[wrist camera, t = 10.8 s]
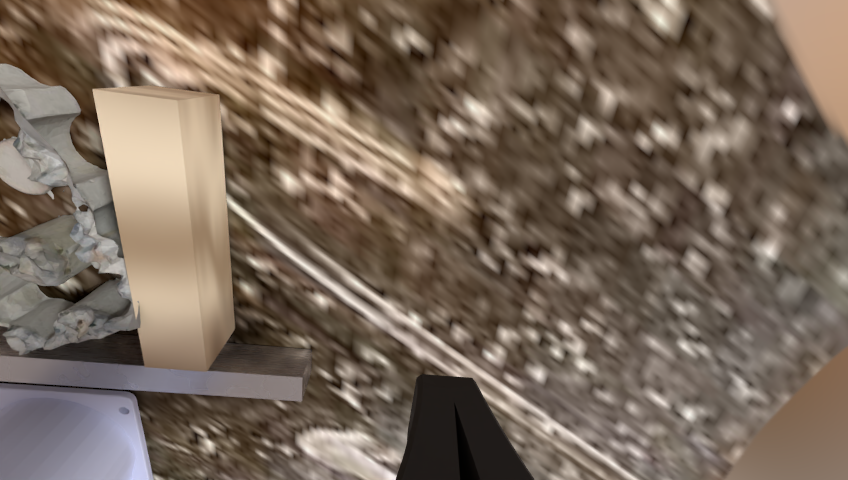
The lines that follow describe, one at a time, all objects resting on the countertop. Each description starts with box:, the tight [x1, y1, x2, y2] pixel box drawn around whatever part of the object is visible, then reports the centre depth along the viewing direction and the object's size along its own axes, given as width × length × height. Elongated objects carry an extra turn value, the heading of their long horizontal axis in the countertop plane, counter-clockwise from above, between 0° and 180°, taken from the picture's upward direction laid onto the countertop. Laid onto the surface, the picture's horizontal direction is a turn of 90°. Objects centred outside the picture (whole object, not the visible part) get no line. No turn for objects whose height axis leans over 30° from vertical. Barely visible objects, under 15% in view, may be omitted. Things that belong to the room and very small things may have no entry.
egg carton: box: [0, 64, 141, 356], centre depth 15 cm, size 11×8×4 cm
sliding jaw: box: [93, 85, 235, 372], centre depth 16 cm, size 11×2×3 cm, turn 172°
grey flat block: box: [0, 326, 312, 401], centre depth 16 cm, size 14×18×3 cm
